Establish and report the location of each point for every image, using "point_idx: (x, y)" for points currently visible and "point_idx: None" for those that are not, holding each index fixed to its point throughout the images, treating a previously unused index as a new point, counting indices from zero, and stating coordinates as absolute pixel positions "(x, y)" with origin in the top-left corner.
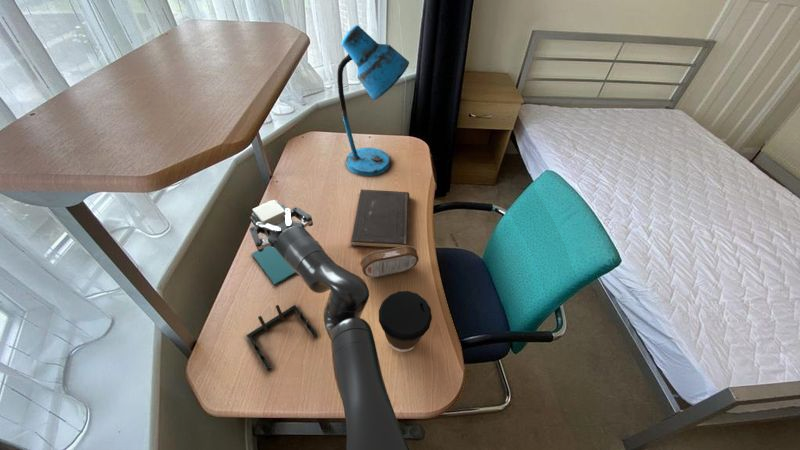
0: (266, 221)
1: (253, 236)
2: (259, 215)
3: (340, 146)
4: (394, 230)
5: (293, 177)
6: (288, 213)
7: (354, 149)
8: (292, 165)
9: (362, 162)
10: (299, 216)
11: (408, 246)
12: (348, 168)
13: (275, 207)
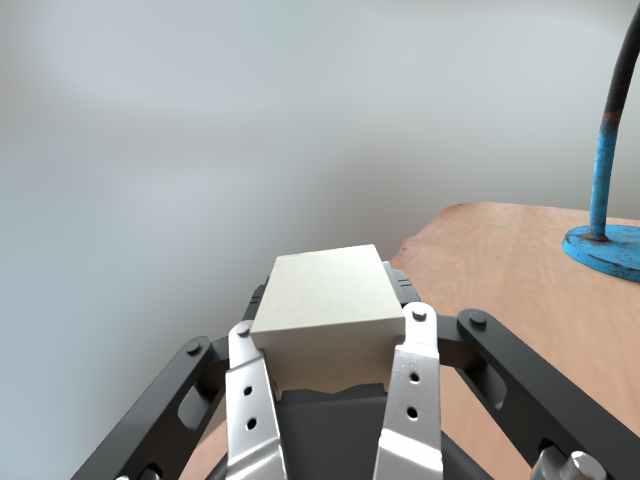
0: (273, 339)
1: (124, 423)
2: (270, 290)
3: (537, 220)
4: None
5: (435, 248)
6: (422, 340)
7: (603, 217)
8: (436, 232)
9: (625, 250)
10: (490, 385)
11: None
12: (571, 256)
13: (360, 277)
